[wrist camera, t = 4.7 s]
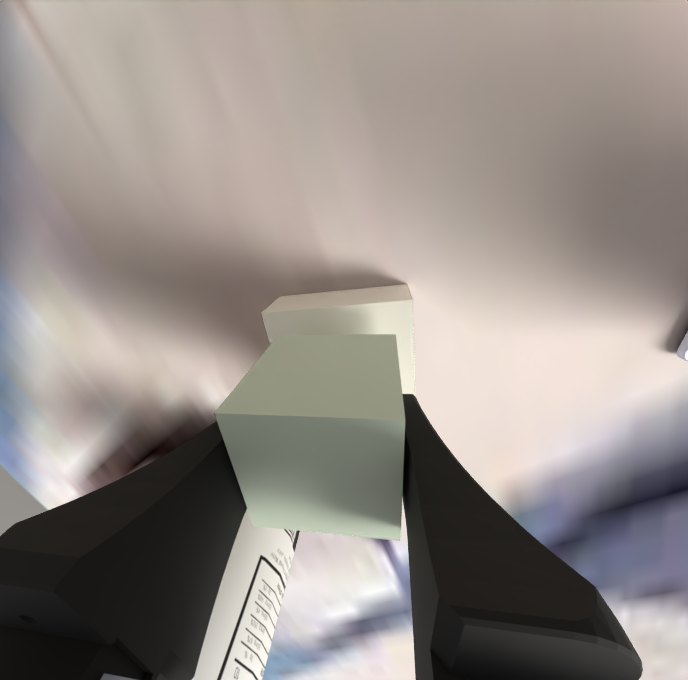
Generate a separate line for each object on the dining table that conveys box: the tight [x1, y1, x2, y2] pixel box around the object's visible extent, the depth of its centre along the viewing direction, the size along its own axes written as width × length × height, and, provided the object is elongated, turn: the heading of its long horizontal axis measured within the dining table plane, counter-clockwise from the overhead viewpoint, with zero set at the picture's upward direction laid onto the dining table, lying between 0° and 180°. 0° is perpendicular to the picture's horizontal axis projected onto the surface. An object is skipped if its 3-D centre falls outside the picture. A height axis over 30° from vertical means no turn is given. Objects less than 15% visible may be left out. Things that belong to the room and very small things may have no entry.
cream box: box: [261, 284, 415, 396], centre depth 15 cm, size 7×7×3 cm
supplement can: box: [192, 509, 300, 680], centre depth 15 cm, size 8×8×15 cm
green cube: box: [214, 334, 405, 541], centre depth 10 cm, size 5×5×5 cm
